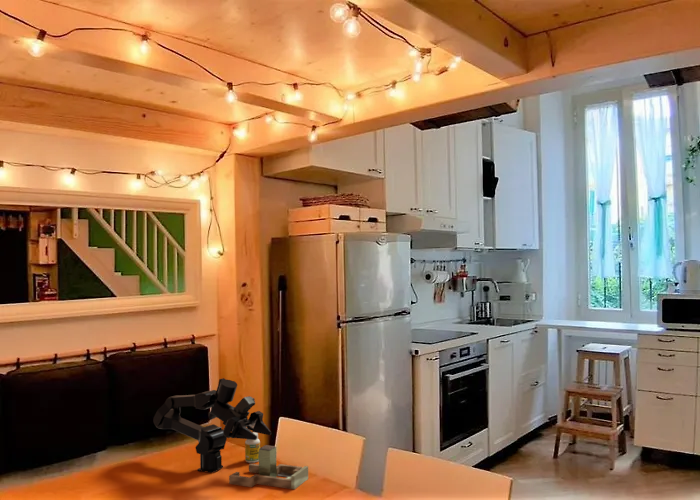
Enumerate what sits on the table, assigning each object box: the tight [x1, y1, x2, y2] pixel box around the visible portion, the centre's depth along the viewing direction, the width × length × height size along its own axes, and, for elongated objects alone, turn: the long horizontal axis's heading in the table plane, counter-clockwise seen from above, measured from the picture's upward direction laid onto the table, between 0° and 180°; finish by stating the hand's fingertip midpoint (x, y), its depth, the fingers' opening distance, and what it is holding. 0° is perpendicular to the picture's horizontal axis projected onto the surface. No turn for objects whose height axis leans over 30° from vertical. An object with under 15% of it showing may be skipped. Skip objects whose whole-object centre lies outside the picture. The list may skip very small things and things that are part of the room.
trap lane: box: [228, 463, 309, 490], centre depth 191 cm, size 22×16×4 cm
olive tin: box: [258, 444, 278, 477], centre depth 191 cm, size 4×4×10 cm
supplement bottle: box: [244, 432, 261, 464], centre depth 210 cm, size 5×5×10 cm
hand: (263, 435), depth 192 cm, fingers open, 9 cm apart
